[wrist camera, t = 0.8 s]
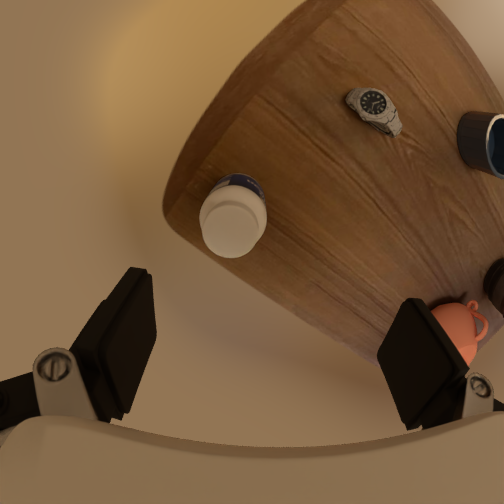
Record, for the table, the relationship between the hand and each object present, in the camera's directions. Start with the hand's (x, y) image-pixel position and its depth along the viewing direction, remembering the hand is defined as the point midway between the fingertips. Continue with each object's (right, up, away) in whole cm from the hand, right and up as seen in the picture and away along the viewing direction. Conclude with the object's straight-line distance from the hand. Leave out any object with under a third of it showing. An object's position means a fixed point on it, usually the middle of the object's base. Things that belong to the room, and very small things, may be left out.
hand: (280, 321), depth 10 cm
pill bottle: (-2, +8, +19) cm, 20 cm away
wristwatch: (+11, +16, +15) cm, 24 cm away
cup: (+27, +16, +14) cm, 35 cm away
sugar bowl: (+29, -9, +26) cm, 40 cm away
